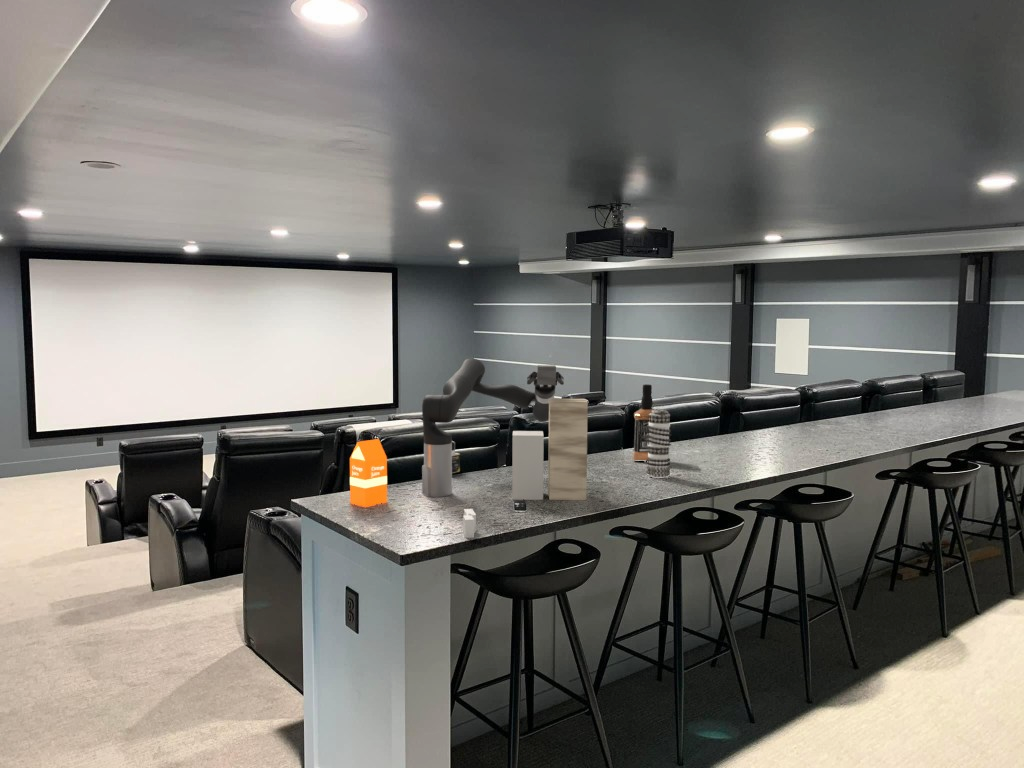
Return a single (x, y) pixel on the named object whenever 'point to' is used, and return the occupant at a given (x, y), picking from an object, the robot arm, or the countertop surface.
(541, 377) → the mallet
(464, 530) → the napkin holder
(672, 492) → the countertop surface
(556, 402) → the stand
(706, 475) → the countertop surface
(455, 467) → the medicine bottle
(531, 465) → the tall white pillar block
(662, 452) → the decorative candle
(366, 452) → the orange juice
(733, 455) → the countertop surface
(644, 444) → the whiskey bottle
